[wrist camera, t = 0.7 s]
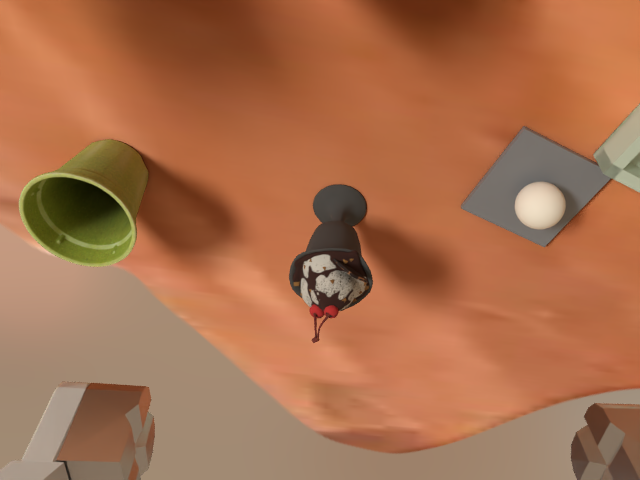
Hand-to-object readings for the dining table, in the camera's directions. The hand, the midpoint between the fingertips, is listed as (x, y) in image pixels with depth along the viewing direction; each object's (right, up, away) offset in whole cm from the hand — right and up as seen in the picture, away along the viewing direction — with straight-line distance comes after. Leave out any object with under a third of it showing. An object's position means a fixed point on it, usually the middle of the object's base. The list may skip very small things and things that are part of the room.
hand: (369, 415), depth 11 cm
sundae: (+1, +6, +44) cm, 44 cm away
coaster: (+18, +8, +40) cm, 45 cm away
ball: (+18, +7, +40) cm, 44 cm away
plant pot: (-20, +10, +43) cm, 49 cm away
